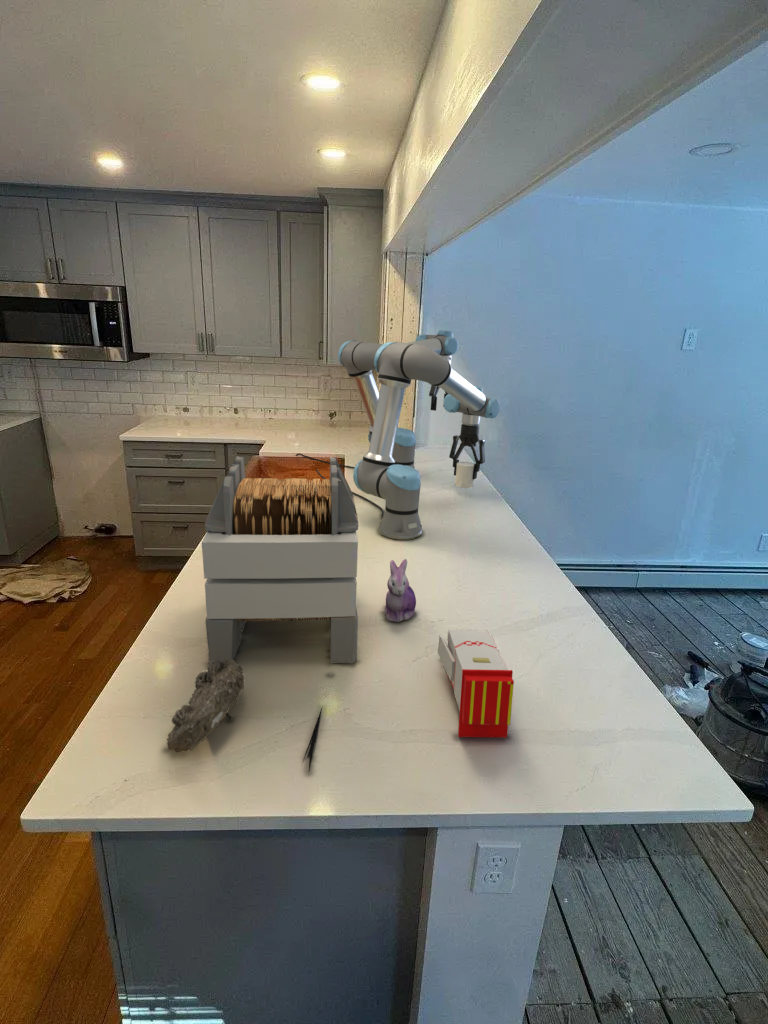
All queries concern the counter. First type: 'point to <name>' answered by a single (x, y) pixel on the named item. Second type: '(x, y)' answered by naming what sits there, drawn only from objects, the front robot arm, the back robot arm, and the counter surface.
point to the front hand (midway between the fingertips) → (465, 476)
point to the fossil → (206, 705)
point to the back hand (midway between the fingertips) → (439, 408)
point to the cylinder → (464, 475)
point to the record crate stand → (281, 558)
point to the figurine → (399, 594)
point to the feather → (313, 740)
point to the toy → (478, 682)
